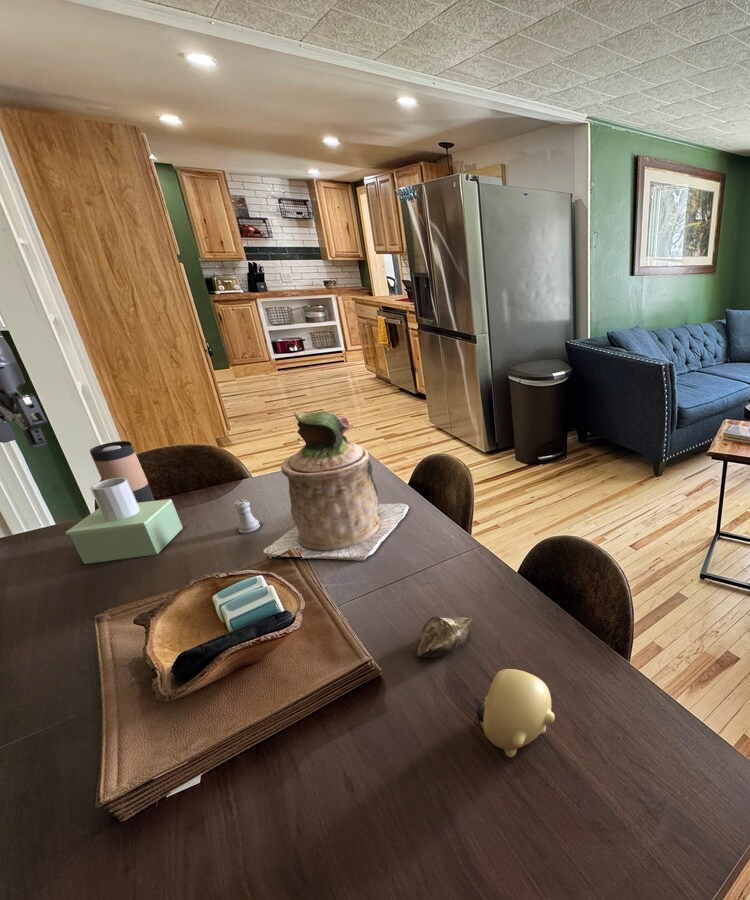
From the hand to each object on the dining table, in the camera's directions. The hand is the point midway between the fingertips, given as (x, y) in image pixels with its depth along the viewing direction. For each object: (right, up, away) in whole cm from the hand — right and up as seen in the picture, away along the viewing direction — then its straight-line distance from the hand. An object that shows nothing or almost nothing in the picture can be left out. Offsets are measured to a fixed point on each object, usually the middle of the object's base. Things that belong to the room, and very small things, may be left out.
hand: (23, 443), depth 93 cm
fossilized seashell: (+87, -36, -9) cm, 95 cm away
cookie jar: (+51, -22, +24) cm, 60 cm away
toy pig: (+102, -43, -25) cm, 113 cm away
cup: (+4, -16, +15) cm, 22 cm away
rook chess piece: (+26, -21, +25) cm, 42 cm away
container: (+4, -24, +18) cm, 31 cm away
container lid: (+4, -17, +15) cm, 23 cm away
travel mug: (-7, -19, +31) cm, 37 cm away
